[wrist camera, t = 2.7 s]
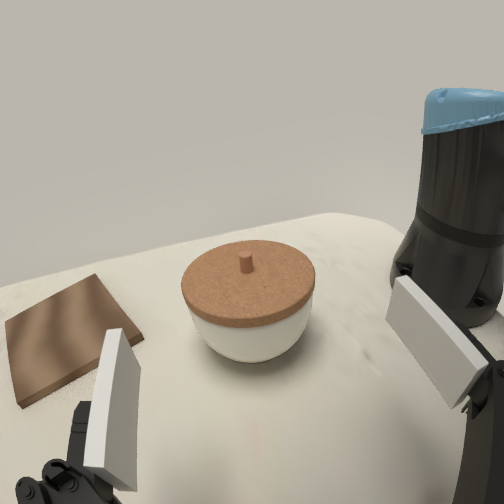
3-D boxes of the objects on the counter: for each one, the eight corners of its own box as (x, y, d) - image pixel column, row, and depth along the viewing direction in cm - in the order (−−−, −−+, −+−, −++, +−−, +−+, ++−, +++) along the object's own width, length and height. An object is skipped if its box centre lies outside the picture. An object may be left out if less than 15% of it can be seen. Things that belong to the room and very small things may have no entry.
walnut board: (97, 279, 39) (95, 273, 38) (144, 339, 28) (141, 332, 28) (8, 327, 30) (4, 321, 29) (22, 408, 19) (16, 403, 19)
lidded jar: (214, 399, 22) (187, 316, 17) (190, 318, 31) (169, 240, 26) (332, 358, 25) (343, 271, 20) (283, 292, 34) (280, 215, 29)
